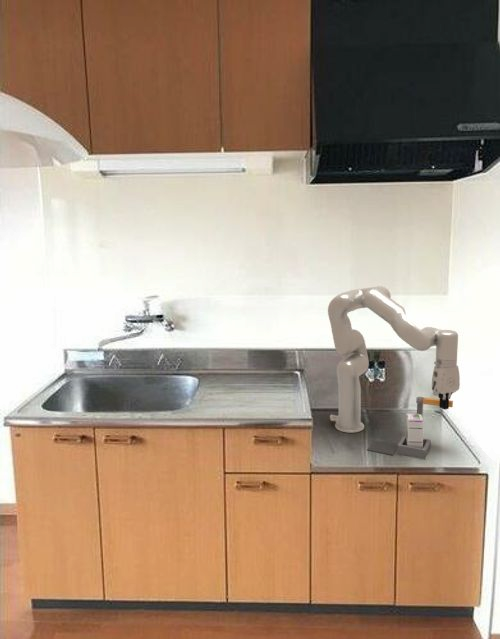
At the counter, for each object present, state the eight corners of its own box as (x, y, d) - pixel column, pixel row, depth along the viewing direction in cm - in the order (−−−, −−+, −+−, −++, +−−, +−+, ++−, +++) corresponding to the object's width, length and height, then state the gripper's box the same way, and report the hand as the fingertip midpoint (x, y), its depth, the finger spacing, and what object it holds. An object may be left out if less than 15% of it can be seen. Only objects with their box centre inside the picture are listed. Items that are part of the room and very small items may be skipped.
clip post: (410, 442, 201) (411, 404, 198) (412, 438, 206) (413, 400, 202) (425, 445, 198) (426, 406, 195) (427, 440, 203) (429, 402, 199)
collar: (397, 453, 192) (397, 445, 192) (403, 443, 201) (404, 435, 201) (425, 459, 187) (425, 450, 187) (430, 448, 196) (430, 439, 195)
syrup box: (423, 454, 191) (424, 419, 188) (407, 453, 192) (408, 418, 189) (421, 448, 196) (422, 413, 194) (405, 447, 198) (406, 412, 195)
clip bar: (452, 407, 192) (452, 402, 192) (415, 403, 198) (415, 398, 198) (452, 405, 195) (452, 400, 195) (416, 401, 201) (417, 396, 200)
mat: (367, 450, 196) (367, 449, 196) (374, 440, 205) (374, 439, 205) (392, 455, 191) (392, 454, 191) (398, 445, 200) (398, 444, 200)
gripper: (437, 367, 182) (435, 414, 186) (468, 362, 188) (466, 408, 192) (423, 362, 189) (421, 408, 193) (453, 357, 195) (451, 401, 198)
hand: (443, 408), depth 192 cm, fingers closed
